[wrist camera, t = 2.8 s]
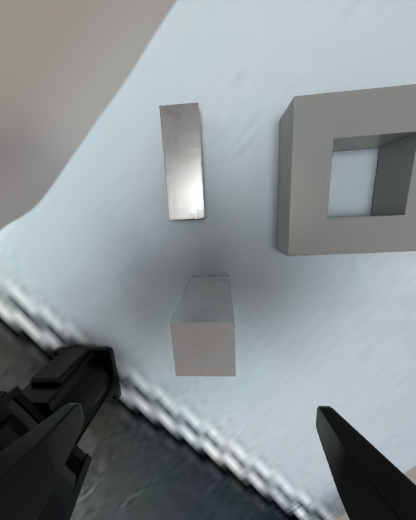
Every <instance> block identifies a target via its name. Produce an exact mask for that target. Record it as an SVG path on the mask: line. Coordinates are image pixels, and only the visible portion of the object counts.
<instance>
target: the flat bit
mask: <svg viewBox="0 0 416 520" xmlns="http://www.w3.org/2000/svg"><path fill="white" fill-rule="evenodd" d="M160 117H161V128H162V140H163V151H164V162H165V173H166V184H167V195H168V206H169V218H170V220H175V219H196V218H205V199H204V179H203V158H202V138H201V118H200V109H199V104H198V103H188V104H177V105H166V106H160Z"/></svg>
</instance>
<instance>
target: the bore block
mask: <svg viewBox="0 0 416 520" xmlns="http://www.w3.org/2000/svg"><path fill="white" fill-rule="evenodd" d="M371 148H380V150H379V157H378V165H377V173H376V180H375V188H374V195H373V203H372V211H371V215H361V216H342V217H327V211H328V199H329V187H330V174H331V162H332V151H345V150H358V149H371ZM277 249H278V250H279V251H281V252H283V253H284V254H286V255H288V256H300V255H325V254H351V253H376V252H401V251H416V84H413V85H403V86H393V87H384V88H374V89H364V90H354V91H344V92H334V93H324V94H314V95H304V96H295V97H294V98H293V100H292V101H291V103H290V104H289V106H288V108H287V109H286V111H285V113H284V114H283V116H282V117H281V119H280V138H279V178H278V218H277Z"/></svg>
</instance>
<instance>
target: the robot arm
mask: <svg viewBox="0 0 416 520" xmlns="http://www.w3.org/2000/svg"><path fill="white" fill-rule="evenodd" d="M107 353H108V354H107ZM52 357H53V360H52V361H50V362H49V363H48V364H47V365H46V366H45V367H43V368H42V369H41V370H40V371H39V372H38V373H36V374H35V375H34V376H33V377H32V378H31V379H30V380H29V382H30V384H29V385H28V386H27V387H26V388H25V389H23V390H21V389H20V388H19V387H18V386H16V387H14V388H13V389H11V390H10V391H8V392H5V391H4V392H3V391H0V520H70V518H71V515H72V512H73V510H74V507H75V504H76V501H77V499H78V496H79V493H80V490H81V487H82V485H83V482H84V479H85V476H86V474H87V471H88V468H89V465H90V463H91V460H92V457H91V456H90V455H89V454H85V453H84V452H83V451H82V450H81V449H80V448H79V447H78V446H77V443H78V442H79V440H80V439H81V437H82V435H83V434H84V432H85V431H86V429H87V427H88V426H89V424H90V423H91V421H92V419H93V418H94V416H95V415H96V413H97V412H98V410H99V408H100V407H101V405H102V404H103V402H104V401H118V399H119V398H120V396H121V393H120V388H119V383H118V378H117V372H116V367H115V362H114V357H113V352H112V350H111V349H110V348H56V349H55V350H54V351H52ZM316 428H317V432H318V435H319V438H320V441H321V444H322V447H323V450H324V452H325V455H326V458H327V461H328V464H329V467H330V470H331V473H332V476H333V479H334V482H335V485H336V487H337V490H338V493H339V495H340V498H341V500H342V503H343V505H344V507H345V510H346V512H347V515H348V517H349V519H350V520H416V485H415V484H414V483H413V482H412V481H411V480H409V479H408V478H407V477H406V476H405V475H404V474H403V473H402V472H401V471H400V470H399V469H398V468H397V467H396V466H394V465H393V464H392V463H391V462H390V461H389V460H388V459H387V458H386V457H385V456H384V455H383V454H381V453H380V452H379V451H378V450H377V449H376V448H375V447H374V446H373V445H372V444H371V443H370V442H368V441H367V440H366V439H365V438H364V437H363V436H362V435H361V434H360V433H359V432H358V431H357V430H355V429H354V428H353V427H352V426H351V425H350V424H349V423H348V422H347V421H346V420H345V419H344V418H343V417H341V416H340V415H339V414H338V413H337V412H336V411H335V410H334V409H333V408H331V407H330V406H318V408H317V417H316Z"/></svg>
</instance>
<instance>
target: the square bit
mask: <svg viewBox="0 0 416 520" xmlns="http://www.w3.org/2000/svg"><path fill="white" fill-rule="evenodd" d="M170 325H171V334H172V343H173V352H174V361H175V370H176V376H236V374H235V338H234V317H233V309H232V300H231V292H230V284H229V275H223V276H192V278H191V280H190V282H189V284H188V286H187V288H186V291H185V293H184V295H183V297H182V299H181V301H180V303H179V305H178V307H177V310H176V312H175V314H174V316H173V318H172V320H171V322H170Z"/></svg>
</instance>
